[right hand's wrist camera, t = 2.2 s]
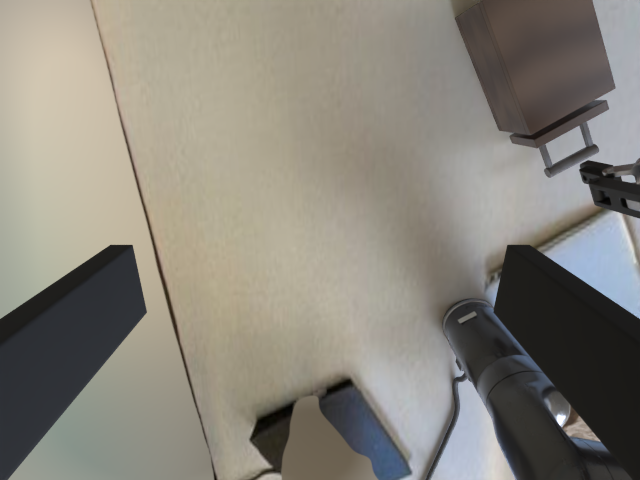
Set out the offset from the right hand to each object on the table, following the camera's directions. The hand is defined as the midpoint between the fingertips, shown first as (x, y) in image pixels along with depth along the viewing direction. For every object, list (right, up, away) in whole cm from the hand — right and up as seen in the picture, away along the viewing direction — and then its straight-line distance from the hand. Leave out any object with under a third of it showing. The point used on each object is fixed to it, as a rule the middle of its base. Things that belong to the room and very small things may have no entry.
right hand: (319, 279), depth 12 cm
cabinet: (+26, +26, +34) cm, 49 cm away
